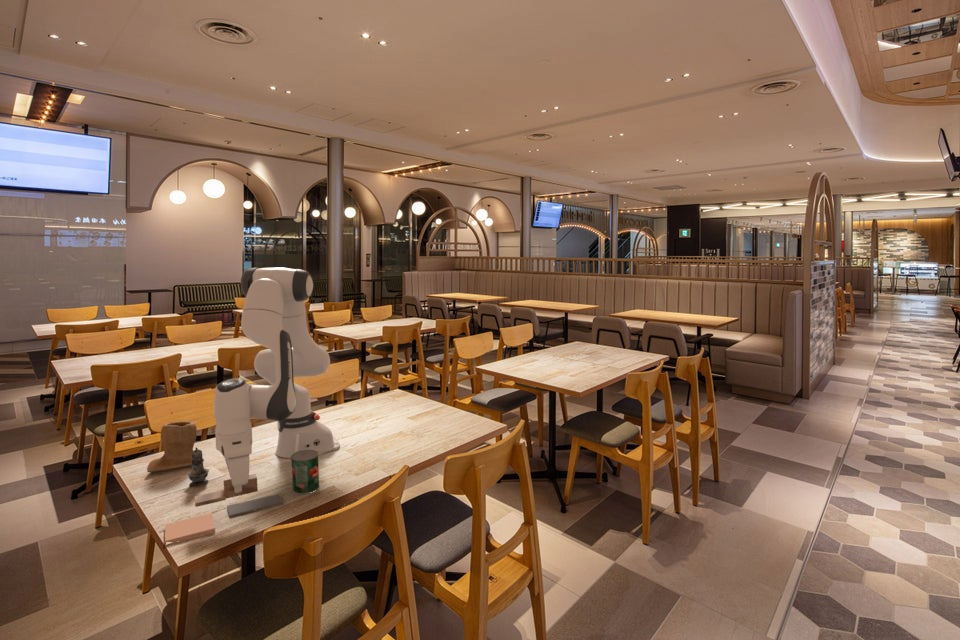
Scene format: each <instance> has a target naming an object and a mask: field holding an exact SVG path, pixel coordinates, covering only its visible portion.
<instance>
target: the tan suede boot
mask: <svg viewBox="0 0 960 640" xmlns="http://www.w3.org/2000/svg"><path fill="white" fill-rule="evenodd" d="M197 434H198V433H197V424H196V423H195V422H194V421H177V422H176V421H175V422H168V423H164V424H163V425H162V427H161V430H160V439H161V443H162V448H163V451H164V452H163V453H164V454H163V455H162V456H161V457H159V458H156V459H155V458H154V459H153V460H151V461H150V462H148V465H147V467H146V468H147V469H146V470H147V473H154V472H162V471H167V470H168V471H169V470H174V469H179V468H180V469H181V468H185V467H189V466H192V463H191V461H192V452H193V451H194V446H195V443H196V439H197Z"/></svg>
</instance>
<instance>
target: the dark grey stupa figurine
mask: <svg viewBox="0 0 960 640" xmlns="http://www.w3.org/2000/svg"><path fill="white" fill-rule="evenodd" d="M204 461H205V459H204V458H203V450H201V449H198V447H195V449H193V452H192V461H191V463H192V465H191V471H189V472H188V473H187V477H188V479H189V481H191V482H190V483H189V485H188V486H189V487H190V488H200V487H203V486H205V485H207V484H208V483H209V480H208V479H206V478H208V475H209V472H210V470H209V469H207V468H205V467H204Z"/></svg>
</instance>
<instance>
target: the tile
mask: <svg viewBox="0 0 960 640" xmlns="http://www.w3.org/2000/svg"><path fill="white" fill-rule="evenodd" d="M214 521H215V520H214V516H213V512H210V513H206V514H203V515H198V516H195V517H194V516H193V517H190V518H186V519H182V520H176V521H172V522H169V523H165V524H164V543H165V542H176V543H178V542H177V541H180V542H183V541H186V540H190V539H191V540H192V539H195V538H199V537H202V536H206V535H210V534H214V533H216V526H215V522H214Z"/></svg>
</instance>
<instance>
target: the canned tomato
mask: <svg viewBox="0 0 960 640" xmlns="http://www.w3.org/2000/svg"><path fill="white" fill-rule="evenodd" d="M290 459H291V478H292V479H291V480H292V492H293V493H294V494H296V493H297V494H296V495H308V494H307V493H309V494H311V493H310V492H312V493H314V492H313V491H315V490H316V491H317V489H318V488H319V489H320V473H319V471H320V469H319V455H318V452H317V451H315V450H302V451H298V452H295V453H294V454H292V456H291V458H290ZM319 489H318V490H319ZM316 491H315V492H316Z"/></svg>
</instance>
